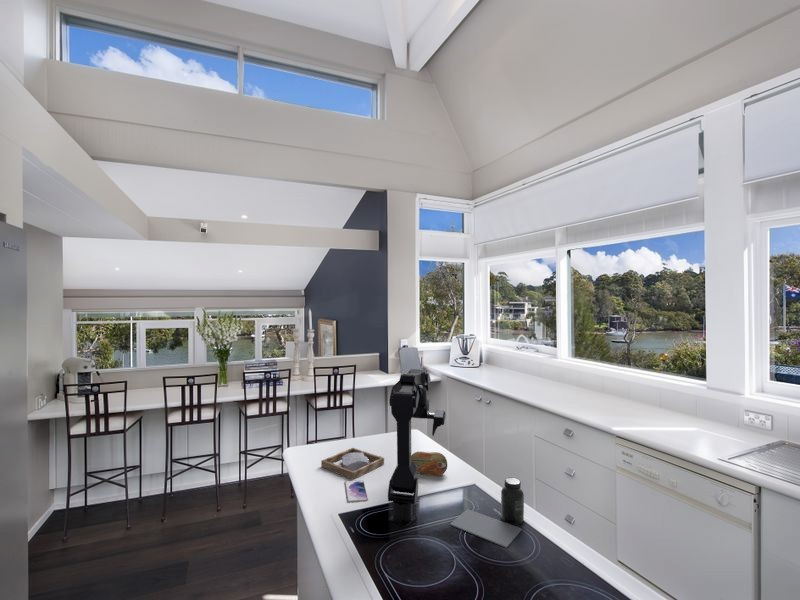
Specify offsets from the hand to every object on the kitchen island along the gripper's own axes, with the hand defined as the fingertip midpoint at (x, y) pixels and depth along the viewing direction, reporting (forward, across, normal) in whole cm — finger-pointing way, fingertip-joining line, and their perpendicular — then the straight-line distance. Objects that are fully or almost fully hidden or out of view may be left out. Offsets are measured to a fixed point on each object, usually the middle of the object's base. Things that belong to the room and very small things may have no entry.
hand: (421, 434), depth 157 cm
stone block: (+16, +28, +4) cm, 32 cm away
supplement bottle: (+7, -33, +28) cm, 44 cm away
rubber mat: (+4, -25, +35) cm, 43 cm away
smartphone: (+9, +20, +23) cm, 32 cm away
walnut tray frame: (+15, +28, +4) cm, 32 cm away
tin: (+15, -2, +4) cm, 16 cm away
